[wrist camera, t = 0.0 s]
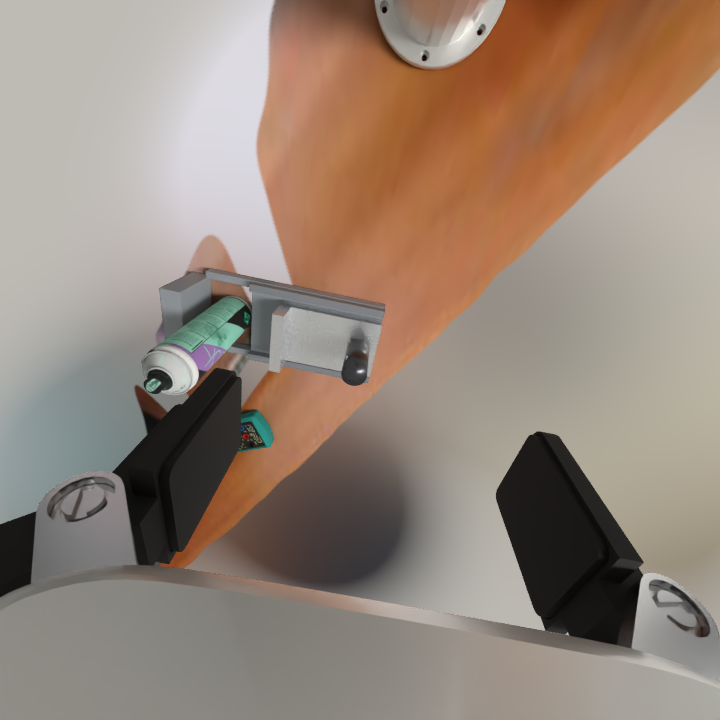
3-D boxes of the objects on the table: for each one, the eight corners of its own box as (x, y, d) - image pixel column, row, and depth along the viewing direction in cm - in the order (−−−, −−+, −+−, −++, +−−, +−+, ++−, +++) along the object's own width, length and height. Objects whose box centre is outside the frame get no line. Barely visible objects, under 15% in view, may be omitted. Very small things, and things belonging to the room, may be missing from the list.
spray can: (214, 322, 50) (123, 399, 33) (219, 289, 47) (122, 354, 30) (249, 334, 51) (178, 416, 33) (256, 303, 48) (182, 373, 31)
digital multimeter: (278, 437, 61) (273, 449, 59) (209, 451, 64) (202, 462, 62) (261, 406, 58) (255, 417, 55) (190, 422, 61) (181, 433, 58)
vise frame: (192, 264, 46) (158, 280, 39) (385, 304, 47) (384, 326, 40) (197, 340, 52) (168, 365, 45) (368, 374, 53) (365, 404, 46)
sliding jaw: (284, 300, 46) (263, 325, 38) (382, 320, 46) (381, 349, 38) (280, 352, 50) (260, 384, 42) (370, 370, 50) (367, 405, 42)
